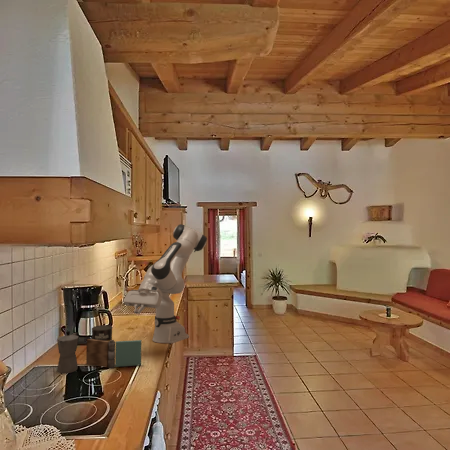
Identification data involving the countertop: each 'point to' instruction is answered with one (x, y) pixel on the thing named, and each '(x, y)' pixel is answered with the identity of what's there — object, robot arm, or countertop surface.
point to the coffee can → (102, 332)
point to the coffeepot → (67, 353)
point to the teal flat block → (126, 353)
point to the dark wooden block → (99, 353)
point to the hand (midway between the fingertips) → (136, 313)
